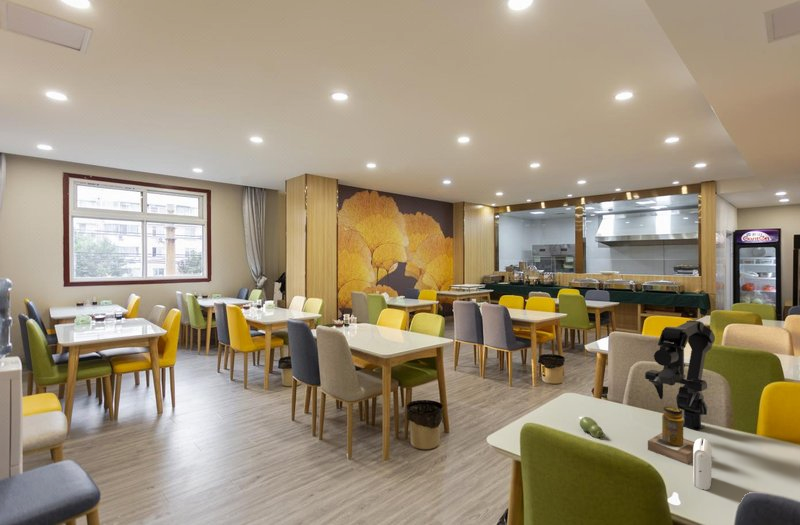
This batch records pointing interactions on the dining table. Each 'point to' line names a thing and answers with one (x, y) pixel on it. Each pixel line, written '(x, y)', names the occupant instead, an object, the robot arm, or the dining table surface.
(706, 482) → the photo printer
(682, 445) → the condiment
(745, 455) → the dining table surface
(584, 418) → the pear
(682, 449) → the brown flat box
